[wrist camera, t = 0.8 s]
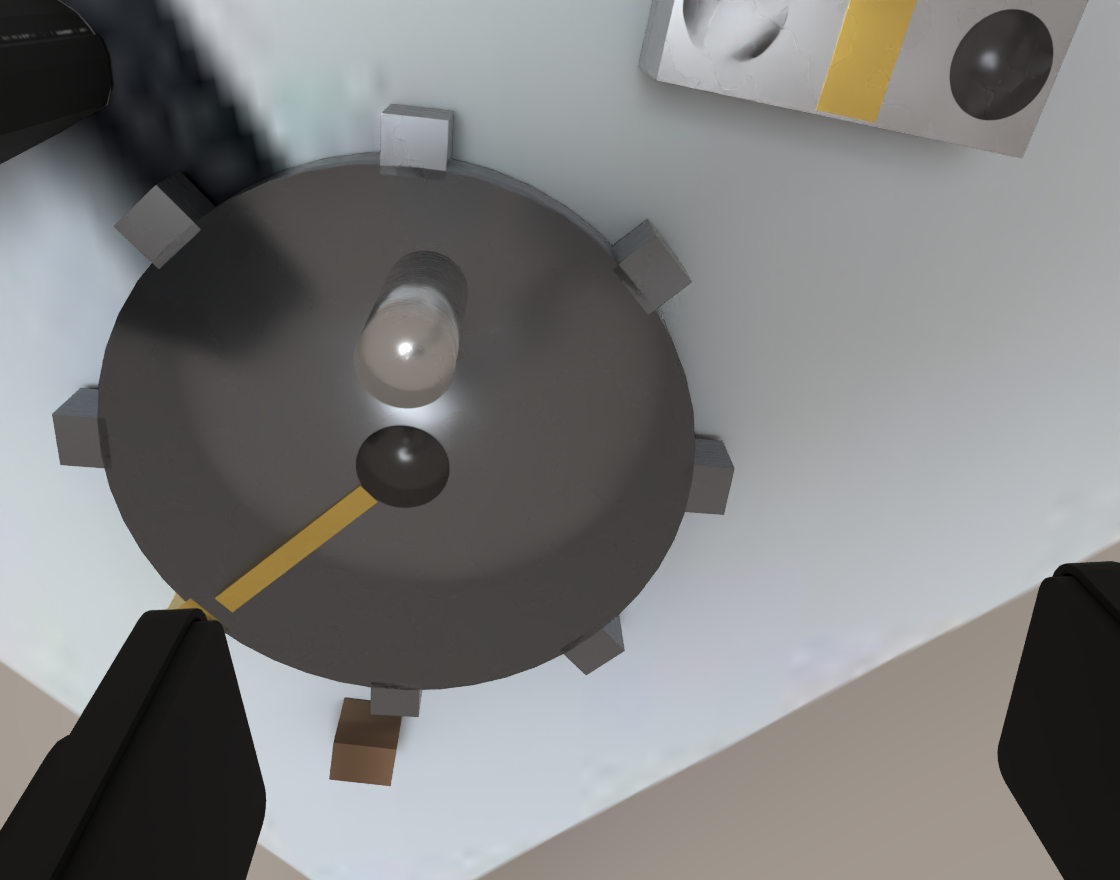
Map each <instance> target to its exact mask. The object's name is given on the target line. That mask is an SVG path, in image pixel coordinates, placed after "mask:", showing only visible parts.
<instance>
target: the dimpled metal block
mask: <svg viewBox="0 0 1120 880" xmlns="http://www.w3.org/2000/svg"><path fill="white" fill-rule="evenodd" d="M1087 2H1088V0H653V1H652V6H651V10H650V15H649V19H648V24H647V28H646V33H645V37H644V42H643V46H642V51H641V55H640V60H639V65H638V67H639V68H640V69H642V70H643V71H644V72H646V73H647V74H648V75H650V76H651V77H652V78H654V79H655V80H657V81H662V82H667V83H671V84H676V85H681V86H685V87H690V88H695V89H699V90H704V91H709V92H713V93H718V94H723V95H727V96H732V97H737V98H742V99H746V100H751V101H756V102H760V103H765V104H770V105H774V106H779V107H784V108H788V109H793V110H798V111H802V112H807V113H812V114H817V115H821V116H826V117H831V118H835V119H840V120H845V121H849V122H854V123H859V124H863V125H868V126H873V127H878V128H882V129H887V130H892V131H896V132H901V133H906V134H910V135H915V136H920V137H924V138H929V139H934V140H938V141H943V142H948V143H953V144H957V145H962V146H967V147H971V148H976V149H981V150H985V151H990V152H995V153H999V154H1004V155H1009V156H1014V157H1018V158H1022V157H1023V155H1024V153H1025V150H1026V148H1027V146H1028V143H1029V141H1030V138H1031V136H1032V134H1033V131H1034V129H1035V126H1036V124H1037V122H1038V119H1039V117H1040V114H1041V112H1042V110H1043V107H1044V105H1045V102H1046V100H1047V98H1048V95H1049V93H1050V91H1051V88H1052V86H1053V83H1054V81H1055V79H1056V76H1057V74H1058V71H1059V69H1060V67H1061V64H1062V62H1063V59H1064V57H1065V55H1066V52H1067V50H1068V47H1069V45H1070V43H1071V40H1072V38H1073V36H1074V33H1075V31H1076V28H1077V26H1078V24H1079V21H1080V19H1081V16H1082V14H1083V12H1084V9H1085V7H1086V4H1087Z"/></svg>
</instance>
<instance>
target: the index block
mask: <svg viewBox="0 0 1120 880" xmlns="http://www.w3.org/2000/svg"><path fill="white" fill-rule="evenodd" d="M401 718H402V716H391V715H372V714H371V701H365V700H357V699H349V698H345V699H344V703H343V707H342V711H341V715H340V719H339V723H338V727H337V731H336V735H335V739H334V743H333V752H332V761H331V769H330V778H329V779H330V780H339V781H348V782H357V783H366V784H376V785H385V786H391V780H392V774H393V768H394V762H395V756H396V749H397V743H398V737H399V731H400V725H401Z"/></svg>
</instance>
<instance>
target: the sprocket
mask: <svg viewBox="0 0 1120 880" xmlns="http://www.w3.org/2000/svg"><path fill="white" fill-rule="evenodd" d="M453 115H454V111H449V110H440V109H431V108H422V107H413V106H404V105H395V104H391V105H390V106H388V107H387V108H386V109H385V110H384V111H383V112H382V113H381V153H360V154H353V155H346V156H339V157H332V158H325V159H320V160H317V161H313V162H310V163H307V164H303V165H300V166H296V167H293V168H289V169H286V170H283V171H281V172H278V173H276V174H274V175H272V176H270V177H267V178H265V179H263V180H261V181H259V182H256V183H254V184H252V185H250V186H248V187H246V188H244V189H243V190H241V191H240V192H238V193H237V194H235V195H233V196H232V197H230V198H229V199H227V200H226V201H224V202H223V203H221V204H220V205H218V206H217V207H216V206H215V205H214V204H213V203H212V202H211V201H210V200H209V199H208V198H207V197H206V196H205V195H204V194H203V193H202V192H201V191H200V190H199V189H198V188H197V187H196V186H195V185H194V184H193V183H192V182H191V181H190V180H189V179H188V178H187V177H186V176H185V175H184V174H183V173H182V172H181V171H180V172H178V173H177V174H175V175H173V176H171V177H169V178H168V179H166V180H164V181H162V182H160V183H159V184H157V185H155V186H154V187H153V188H152V189H151V190H150V191H149V192H148V193H147V194H146V195H145V196H144V197H143V198H142V199H141V200H140V201H139V202H138V203H137V204H136V205H135V206H134V207H133V208H132V209H131V210H130V211H129V212H128V213H127V214H126V215H125V216H124V217H123V218H121V219H120V220H119V221H118V222H117V223H116V224H115V225H114V227H115V228H116V229H117V230H118V231H119V232H120V233H121V234H122V235H123V236H125V237H126V238H127V239H128V240H129V241H130V242H131V243H132V244H133V245H134V246H135V247H136V248H137V249H138V250H139V251H140V252H141V253H142V254H143V255H144V256H146V257H147V258H148V259H149V260H150V261H151V262H152V264H151V265H150V266H149V268H148V269H147V270H146V271H145V273H144V274H143V275H142V276H141V278H140V279H139V280H138V281H137V283H136V285H135V286H134V288H133V290H132V292H131V293H130V295H129V297H128V299H127V300H126V302H125V304H124V306H123V307H122V309H121V311H120V312H119V314H118V317H117V320H116V322H115V325H114V328H113V330H112V333H111V336H110V338H109V341H108V344H107V346H106V349H105V354H104V359H103V364H102V369H101V374H100V379H99V384H98V389H88V388H80V389H79V390H78V391H77V392H76V393H75V394H73V395H72V396H71V397H70V398H69V399H68V400H67V401H66V402H65V403H64V404H63V405H61V406H60V407H59V408H58V409H57V410H56V411H55V412H54V413H53V414H52V416H53V422H54V429H55V435H56V441H57V447H58V453H59V459H60V465H68V466H82V467H95V468H105V471H106V475H107V479H108V483H109V486H110V490H111V492H112V494H113V497H114V499H115V501H116V504H117V506H118V508H119V511H120V513H121V516H122V518H123V520H124V522H125V524H126V526H127V527H128V529H129V531H130V532H131V534H132V536H133V538H134V539H135V541H136V543H137V544H138V546H139V548H140V549H141V551H142V552H143V554H144V555H145V556H146V558H147V559H148V560H149V561H150V563H151V564H152V565H153V567H154V568H155V569H156V571H157V572H158V573H159V574H160V576H161V577H162V578H163V579H164V580H165V581H166V583H167V584H168V585H169V586H170V587H171V588H172V589H173V590H174V591H175V592H176V595H175V596H174V598H173V600H172V602H171V603H170V605H169V607H168V609H167V610H169V609H188V608H198V609H201V610H202V611H203V612H204V613H205V615H206V617H207V620H217V621H219V622H220V623H221V624H222V626H223V629H224V632H225V633H226V634H228V635H229V636H231V637H233V638H234V639H236V640H237V641H239V642H240V643H242V644H243V645H245V646H247V647H249V648H251V649H253V650H255V651H257V652H259V653H261V654H263V655H265V656H267V657H269V658H271V659H273V660H275V661H278V662H280V663H283V664H285V665H288V666H290V667H293V668H296V669H298V670H301V671H303V672H306V673H309V674H313V675H317V676H320V677H324V678H327V679H331V680H335V681H338V682H343V683H349V684H355V685H361V686H367V687H371V714H372V715H391V716H409V717H419V710H420V703H421V696H422V690H430V689H446V688H454V687H462V686H470V685H476V684H480V683H484V682H488V681H493V680H497V679H501V678H506V677H508V676H511V675H514V674H517V673H520V672H523V671H526V670H529V669H531V668H534V667H537V666H539V665H541V664H543V663H545V662H547V661H550V660H552V659H554V658H556V657H558V656H560V655H562V654H564V655H565V656H566V657H567V658H568V659H569V660H570V661H571V662H572V663H574V664H575V665H576V666H577V667H578V668H579V669H580V670H581V671H582V672H583V673H584V674H585V675H587V674H589V673H591V672H592V671H594V670H595V669H597V668H598V667H600V666H602V665H603V664H605V663H606V662H608V661H609V660H611V659H613V658H614V657H616V656H617V655H619V654H620V653H622V652H624V651H625V650H624V643H623V637H622V630H621V623H620V617H619V614H620V613H621V612H622V611H623V610H624V609H625V608H626V607H627V606H628V605H629V604H630V603H631V602H632V601H633V600H634V599H635V597H636V596H637V595H638V594H639V593H640V592H641V591H642V589H643V588H644V587H645V585H646V584H647V583H648V581H649V580H650V579H651V577H652V576H653V575H654V573H655V572H656V571H657V569H658V568H659V566H660V564H661V563H662V561H663V559H664V557H665V555H666V554H667V552H668V550H669V548H670V546H671V545H672V543H673V541H674V539H675V536H676V534H677V531H678V528H679V526H680V523H681V521H682V518H683V515H684V513H685V512H693V513H707V514H720V515H724V512H725V508H726V503H727V499H728V494H729V490H730V486H731V481H732V477H733V472H734V466H733V464H732V462H731V459H730V457H729V455H728V453H727V450H726V448H725V446H724V443H723V441H720V440H708V439H696V438H695V431H694V416H693V408H692V403H691V399H690V394H689V390H688V385H687V380H686V376H685V373H684V371H683V368H682V365H681V363H680V360H679V357H678V355H677V352H676V349H675V347H674V344H673V342H672V339H671V337H670V334H669V332H668V329H667V327H666V325H665V322H664V320H663V318H662V316H661V314H660V312H659V311H658V309H657V308H658V307H659V306H661V305H662V304H663V303H665V302H666V301H667V300H669V299H670V298H671V297H673V296H674V295H675V294H677V293H678V292H679V291H681V290H682V289H683V288H685V287H686V286H687V285H689V284H690V283H691V280H690V278H689V276H688V275H687V273H686V271H685V269H684V268H683V266H682V264H681V262H680V261H679V260H678V258H677V257H676V256H675V255H674V253H673V252H672V251H671V249H670V248H669V247H668V245H667V244H666V243H665V241H664V240H663V239H662V237H661V236H660V235H659V233H658V232H657V231H656V229H655V228H654V227H653V225H652V224H651V223H650V222H649V220H648V219H647V220H646V221H644V222H643V223H642V224H641V225H639V226H638V227H637V228H636V229H634V230H633V231H632V232H631V233H629V234H628V235H627V236H625V237H624V238H623V239H622V240H620V241H619V242H618V243H617V244H615V245H614V246H613V247H612V246H611V245H610V244H609V243H608V242H607V241H606V240H605V239H604V238H603V237H602V236H601V235H600V234H599V233H598V232H597V231H596V230H595V229H594V228H593V227H591V226H590V225H589V224H588V223H586V222H585V221H584V220H582V219H581V218H580V217H578V216H577V215H576V214H575V213H573V212H572V211H571V210H569V209H568V208H567V207H565V206H564V205H562V204H561V203H559V202H557V201H556V200H554V199H552V198H550V197H549V196H547V195H545V194H543V193H542V192H540V191H538V190H536V189H535V188H533V187H531V186H530V185H528V184H525V183H523V182H520V181H518V180H515V179H513V178H511V177H508V176H506V175H503V174H501V173H498V172H496V171H494V170H491V169H488V168H484V167H481V166H477V165H473V164H469V163H466V162H462V161H458V160H454V159H451V153H452V134H453Z"/></svg>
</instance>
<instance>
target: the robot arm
mask: <svg viewBox="0 0 1120 880" xmlns="http://www.w3.org/2000/svg"><path fill="white" fill-rule="evenodd" d="M998 763H999V768H1000V771H1001V774H1002V776H1003V779H1004V781H1005V783H1006V784H1007V786H1008V788H1009V789H1010V791H1011V793H1012V794H1013V796H1014V798H1015V799H1016V801H1017V803H1018V804H1019V806H1020V808H1021V809H1022V811H1023V812H1024V814H1025V816H1026V817H1027V819H1028V821H1029V822H1030V824H1031V826H1032V827H1033V829H1034V830H1035V832H1036V834H1037V836H1038V837H1039V839H1040V840H1041V842H1042V844H1043V845H1044V847H1045V849H1046V850H1047V852H1048V854H1049V855H1050V857H1051V859H1052V860H1053V862H1054V864H1055V865H1056V867H1057V869H1058V870H1059V872H1060V873H1061V875H1062V877H1063V878H1064V880H1120V563H1118V562H1113V561H1106V562H1087V563H1066V564H1063V565H1060V566H1059V567H1058V568H1057V569H1056V570H1055V572H1054V574H1053V577H1049V578H1045V579H1044V580H1043V581H1042V583H1041V585H1040V587H1039V591H1038V595H1037V598H1036V603H1035V606H1034V610H1033V614H1032V618H1031V622H1030V625H1029V630H1028V633H1027V637H1026V641H1025V645H1024V649H1023V652H1022V656H1021V660H1020V664H1019V668H1018V672H1017V675H1016V679H1015V683H1014V687H1013V691H1012V695H1011V699H1010V703H1009V706H1008V710H1007V714H1006V718H1005V722H1004V726H1003V729H1002V734H1001V737H1000V741H999V745H998ZM265 809H266V792H265V786H264V782H263V778H262V774H261V771H260V767H259V763H258V759H257V755H256V751H255V748H254V744H253V740H252V736H251V732H250V728H249V725H248V721H247V717H246V713H245V709H244V705H243V701H242V698H241V694H240V690H239V686H238V682H237V678H236V675H235V671H234V667H233V663H232V659H231V655H230V652H229V648H228V644H227V640H226V636H225V632H224V629H223V626H222V624H221V623H220V622H219V621H217V620H207V617H206V615H205V613H204V612H203V611H202V610H201V609H198V608H188V609H169V610H150V611H147V612H145V613H144V614H143V615H142V616H141V617H140V618H139V620H138V622H137V623H136V625H135V627H134V628H133V630H132V632H131V633H130V635H129V637H128V638H127V640H126V642H125V643H124V645H123V646H122V648H121V650H120V651H119V653H118V655H117V656H116V658H115V660H114V661H113V663H112V665H111V666H110V668H109V670H108V671H107V673H106V675H105V676H104V678H103V680H102V681H101V683H100V685H99V686H98V688H97V690H96V691H95V693H94V695H93V696H92V698H91V700H90V701H89V703H88V705H87V706H86V708H85V710H84V711H83V713H82V715H81V716H80V718H79V720H78V721H77V723H76V725H75V726H74V728H73V730H72V731H71V733H70V735H67V736H66V737H64V738H62V739H61V740H59V741H58V742H57V743H56V744H55V745H54V746H53V748H52V749H51V750H50V752H49V753H48V754H47V756H46V757H45V759H44V760H43V762H42V764H41V765H40V767H39V769H38V770H37V772H36V773H35V775H34V777H33V779H32V780H31V782H30V783H29V785H28V787H27V788H26V790H25V792H24V793H23V795H22V796H21V798H20V800H19V801H18V803H17V805H16V806H15V808H14V809H13V811H12V813H11V814H10V816H9V817H8V819H7V821H6V822H5V824H4V826H3V827H2V829H1V830H0V880H246V877H247V873H248V870H249V867H250V864H251V861H252V857H253V854H254V851H255V848H256V844H257V841H258V838H259V835H260V831H261V828H262V825H263V821H264V817H265Z"/></svg>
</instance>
